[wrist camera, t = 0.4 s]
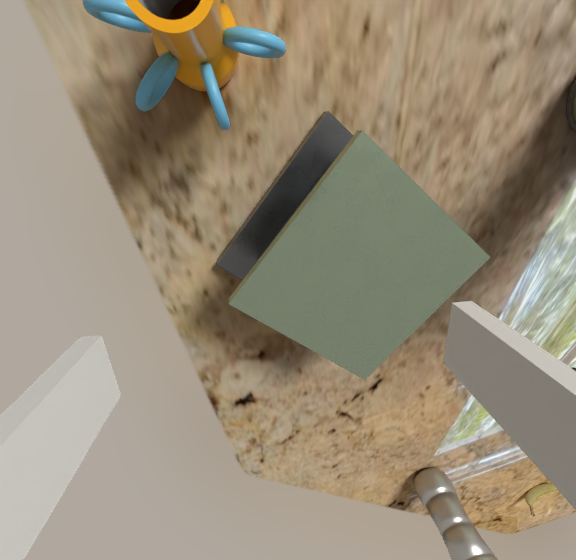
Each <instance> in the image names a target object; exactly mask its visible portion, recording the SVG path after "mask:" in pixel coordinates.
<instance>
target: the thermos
mask: <svg viewBox="0 0 576 560" xmlns="http://www.w3.org/2000/svg"><path fill="white" fill-rule="evenodd" d="M567 118H568V121H569V124H570V126H571V127H572V129H573V130H574V131H575V132H576V78H575V80H574V82H573V84H572V86H571V89H570V93H569V96H568V100H567Z"/></svg>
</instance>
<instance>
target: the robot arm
mask: <svg viewBox="0 0 576 560" xmlns="http://www.w3.org/2000/svg"><path fill="white" fill-rule="evenodd" d="M443 363H444V364H445V365H446V366H447V367H448V368H449V369H450V370H451V371H452V373H453V374H454V375H455V376H456V377H457V378H458V379H459V380H460V382H461V383H462V384H463V385H464V386H465V387H466V388H467V389H468V390H469V392H470V393H471V394H472V395H473V396H474V397H475V398H476V399H477V400H478V402H479V403H480V404H481V405H482V406H483V407H484V408H485V409H486V410H487V412H488V413H489V414H490V415H491V416H492V417H493V418H494V419H495V420H496V422H497V423H498V424H499V425H500V426H501V427H502V428H503V429H504V430H505V432H506V433H507V434H508V435H509V436H510V437H511V438H512V439H513V440H514V442H515V443H516V444H517V445H518V446H519V447H520V448H521V449H522V450H523V452H524V453H525V454H526V455H527V456H528V457H529V458H530V459H531V461H532V462H533V463H534V464H535V465H536V466H537V467H538V468H539V469H540V471H541V472H542V473H543V474H544V475H545V476H546V477H547V478H548V479H549V481H550V482H551V483H552V484H553V485H554V486H555V487H556V488H557V489H558V491H559V492H560V493H561V494H562V495H563V496H564V497H565V498H566V499H567V501H568V502H569V503H570V504H571V505H572V506H573V507H574V508H575V509H576V368H570V367H569V366H567V365H566V364H564V363H563V362H561V361H560V360H558V359H557V358H555V357H554V356H552V355H551V354H549V353H548V352H546V351H545V350H543V349H542V348H541V347H539V346H538V345H536V344H535V343H533V342H532V341H530V340H529V339H527V338H526V337H524V336H523V335H521V334H520V333H518V332H517V331H515V330H514V329H512V328H511V327H509V326H508V325H506V324H505V323H503V322H502V321H500V320H499V319H497V318H496V317H494V316H493V315H491V314H490V313H488V312H487V311H485V310H484V309H482V308H481V307H479V306H478V305H477V304H475V303H474V302H472V301H465V302H455V303H452V306H451V313H450V320H449V327H448V334H447V341H446V348H445V355H444V362H443ZM120 397H121V394H120V391H119V388H118V385H117V382H116V378H115V376H114V373H113V369H112V366H111V363H110V360H109V357H108V354H107V350H106V347H105V344H104V341H103V338H102V336H101V335H100V336H89V337H80V338H79V339H78V340H77V341H76V342H75V343H74V344H73V345H72V346H71V347H69V349H67V350H66V351H65V352H64V353H63V354H62V355H61V356H60V357H59V358H58V359H57V360H56V361H55V362H54V363H53V364H52V365H51V366H50V367H49V368H48V369H47V370H46V371H45V372H44V373H43V374H42V375H41V376H40V377H39V378H38V379H37V380H36V381H35V382H34V383H33V384H32V385H31V386H30V387H29V388H28V389H27V390H25V392H23V393H22V394H21V395H20V397H18V398H17V399H16V400H15V401H14V402H13V403H12V404H11V405H10V406H9V407H8V408H7V409H6V410H5V411H4V412H3V413H2V414H1V415H0V560H24V558H25V556H26V555H27V553H28V551H29V550H30V548H31V546H32V545H33V543H34V541H35V540H36V538H37V536H38V535H39V533H40V531H41V529H42V528H43V526H44V525H45V523H46V521H47V519H48V518H49V516H50V514H51V513H52V511H53V509H54V508H55V506H56V504H57V503H58V501H59V499H60V498H61V496H62V494H63V493H64V491H65V489H66V488H67V486H68V484H69V483H70V481H71V479H72V477H73V475H74V474H75V472H76V471H77V469H78V467H79V465H80V464H81V462H82V460H83V459H84V457H85V456H86V454H87V452H88V451H89V449H90V447H91V446H92V444H93V442H94V440H95V439H96V437H97V435H98V434H99V432H100V430H101V429H102V427H103V425H104V424H105V422H106V420H107V419H108V417H109V415H110V414H111V412H112V410H113V408H114V407H115V405H116V403H117V402H118V400H119V398H120Z"/></svg>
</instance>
